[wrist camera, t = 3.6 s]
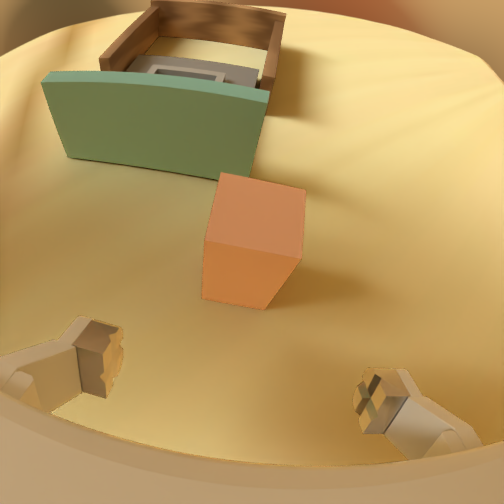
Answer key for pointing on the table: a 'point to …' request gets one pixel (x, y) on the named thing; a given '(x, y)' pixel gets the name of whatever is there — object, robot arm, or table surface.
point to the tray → (161, 115)
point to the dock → (200, 31)
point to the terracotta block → (251, 240)
